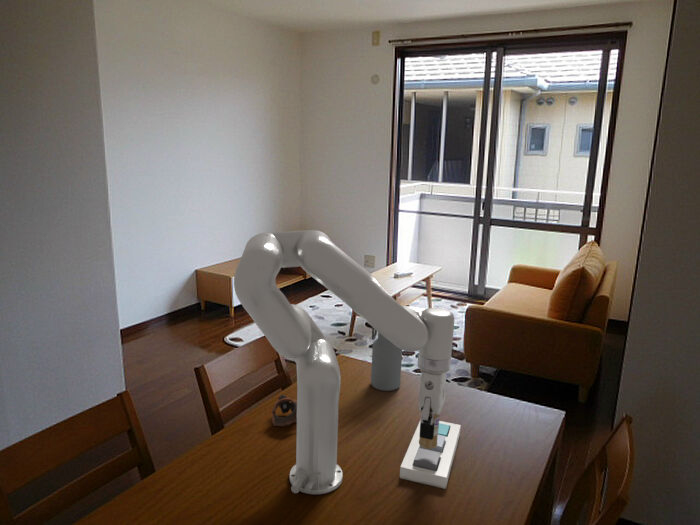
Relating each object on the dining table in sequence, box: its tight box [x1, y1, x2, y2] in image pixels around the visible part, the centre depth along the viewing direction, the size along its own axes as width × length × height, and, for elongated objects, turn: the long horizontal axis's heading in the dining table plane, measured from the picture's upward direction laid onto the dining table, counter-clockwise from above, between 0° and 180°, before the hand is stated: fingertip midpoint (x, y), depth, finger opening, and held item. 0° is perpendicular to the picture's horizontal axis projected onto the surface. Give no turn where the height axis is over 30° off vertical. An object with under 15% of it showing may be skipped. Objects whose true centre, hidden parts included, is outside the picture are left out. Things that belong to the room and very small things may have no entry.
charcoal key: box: [414, 448, 440, 471], centre depth 126 cm, size 5×5×2 cm
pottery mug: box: [271, 394, 297, 427], centre depth 147 cm, size 12×10×8 cm
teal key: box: [438, 423, 450, 437], centre depth 141 cm, size 5×5×2 cm
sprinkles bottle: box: [419, 409, 440, 449], centre depth 123 cm, size 5×5×13 cm
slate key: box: [420, 435, 445, 453], centre depth 133 cm, size 5×5×2 cm
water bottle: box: [370, 326, 403, 392], centre depth 169 cm, size 10×10×28 cm
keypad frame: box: [399, 418, 462, 490], centre depth 133 cm, size 25×11×3 cm, turn 161°
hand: (428, 431), depth 124 cm, fingers closed on sprinkles bottle, 4 cm apart
